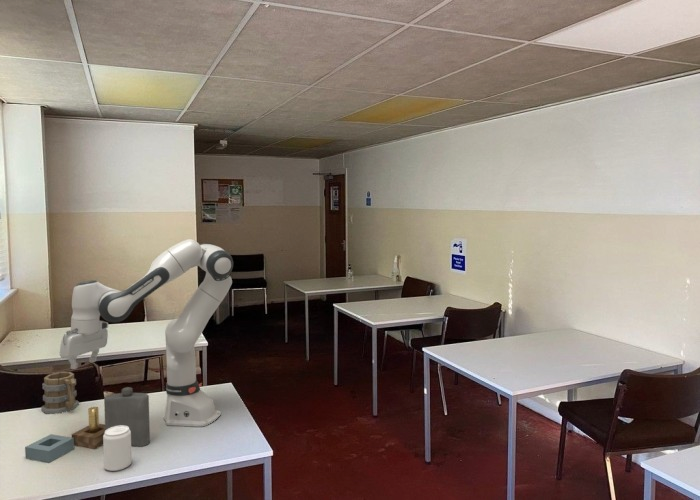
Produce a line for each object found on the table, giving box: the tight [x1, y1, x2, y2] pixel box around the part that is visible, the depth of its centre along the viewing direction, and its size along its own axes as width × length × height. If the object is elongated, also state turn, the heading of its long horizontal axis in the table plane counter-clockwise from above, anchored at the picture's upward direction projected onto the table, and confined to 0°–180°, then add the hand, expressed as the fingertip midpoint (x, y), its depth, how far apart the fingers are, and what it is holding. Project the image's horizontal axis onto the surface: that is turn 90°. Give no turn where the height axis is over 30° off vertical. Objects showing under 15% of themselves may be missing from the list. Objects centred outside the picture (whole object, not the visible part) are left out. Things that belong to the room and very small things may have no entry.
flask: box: [103, 386, 151, 448], centre depth 174 cm, size 15×6×20 cm, turn 93°
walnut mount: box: [71, 423, 105, 450], centre depth 176 cm, size 10×10×4 cm
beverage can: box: [102, 425, 133, 472], centre depth 159 cm, size 8×8×12 cm
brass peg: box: [87, 406, 100, 434], centre depth 176 cm, size 3×3×12 cm
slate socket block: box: [24, 433, 75, 464], centre depth 167 cm, size 10×10×4 cm
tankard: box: [41, 371, 80, 415], centre depth 204 cm, size 20×13×15 cm, turn 50°
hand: (83, 365), depth 174 cm, fingers open, 8 cm apart
